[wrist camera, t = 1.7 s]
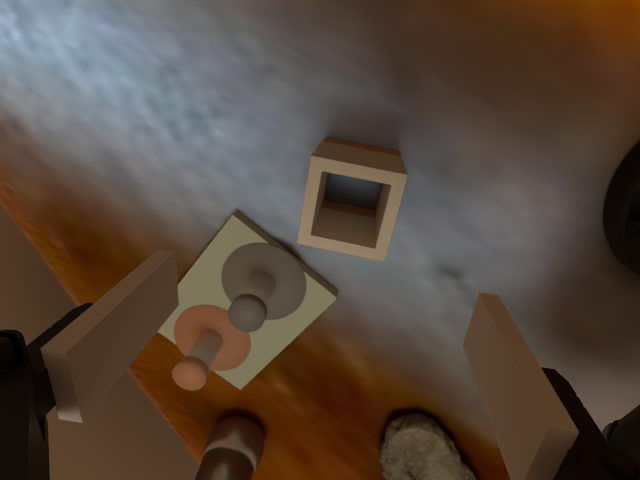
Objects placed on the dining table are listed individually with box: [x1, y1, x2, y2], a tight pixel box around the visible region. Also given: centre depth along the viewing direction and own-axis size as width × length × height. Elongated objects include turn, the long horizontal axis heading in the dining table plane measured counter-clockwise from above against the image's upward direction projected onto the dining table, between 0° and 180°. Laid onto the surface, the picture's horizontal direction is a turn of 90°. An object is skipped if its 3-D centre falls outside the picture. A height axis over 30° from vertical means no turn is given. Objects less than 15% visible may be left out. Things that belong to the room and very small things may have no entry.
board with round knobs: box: [158, 210, 338, 391], centre depth 35 cm, size 17×12×7 cm
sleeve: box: [297, 137, 408, 262], centre depth 28 cm, size 6×6×8 cm
